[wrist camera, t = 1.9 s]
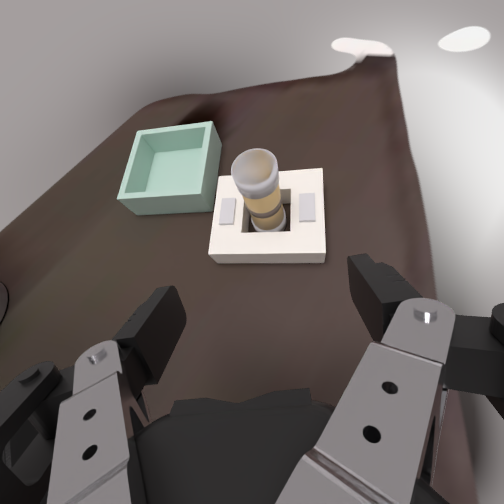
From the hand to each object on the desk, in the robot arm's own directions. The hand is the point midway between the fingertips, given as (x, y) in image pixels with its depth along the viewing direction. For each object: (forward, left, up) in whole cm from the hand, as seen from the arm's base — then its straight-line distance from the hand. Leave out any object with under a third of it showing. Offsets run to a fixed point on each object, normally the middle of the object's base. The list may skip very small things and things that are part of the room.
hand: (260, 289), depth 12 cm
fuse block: (-2, +11, -15) cm, 19 cm away
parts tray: (-15, +19, -15) cm, 29 cm away
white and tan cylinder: (-2, +11, -15) cm, 19 cm away
